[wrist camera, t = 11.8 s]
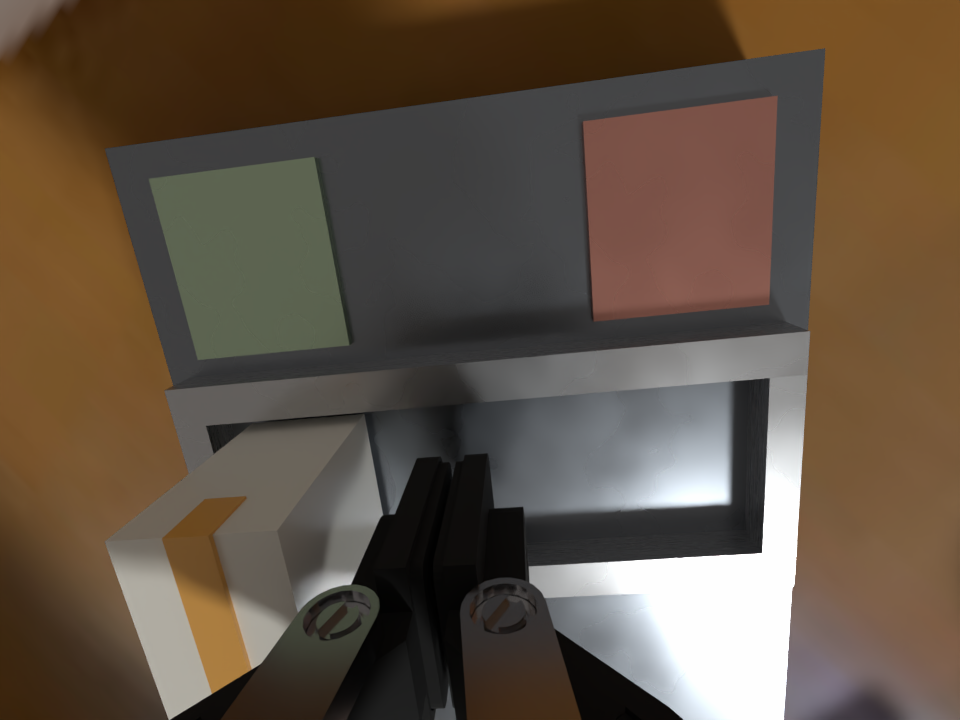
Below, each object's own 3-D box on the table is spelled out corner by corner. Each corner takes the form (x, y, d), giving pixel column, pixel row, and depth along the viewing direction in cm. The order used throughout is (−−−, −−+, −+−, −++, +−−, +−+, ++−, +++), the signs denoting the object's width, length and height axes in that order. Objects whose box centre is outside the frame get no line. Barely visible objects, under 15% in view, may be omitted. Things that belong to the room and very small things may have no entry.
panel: (740, 640, 18) (801, 754, 14) (309, 657, 20) (259, 765, 16) (757, 84, 13) (857, 31, 9) (185, 161, 15) (69, 142, 11)
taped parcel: (389, 549, 14) (323, 728, 9) (285, 555, 14) (168, 732, 9) (363, 412, 13) (272, 531, 8) (252, 421, 13) (98, 542, 8)
